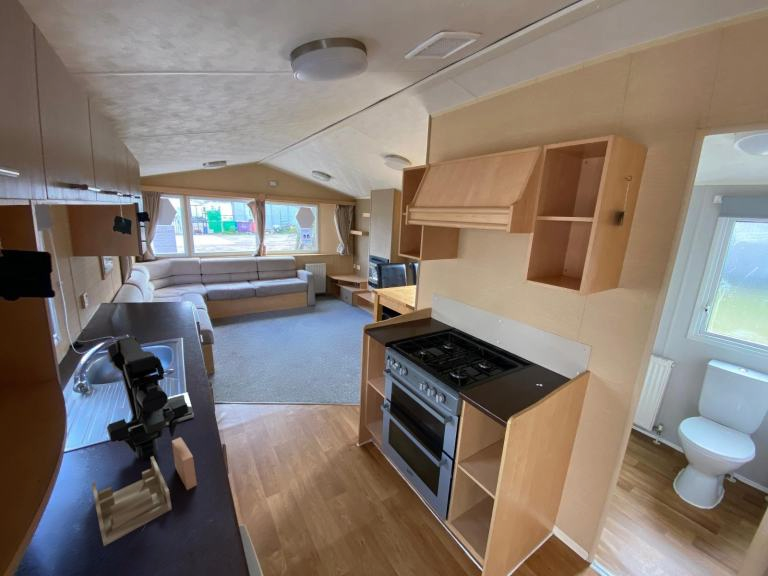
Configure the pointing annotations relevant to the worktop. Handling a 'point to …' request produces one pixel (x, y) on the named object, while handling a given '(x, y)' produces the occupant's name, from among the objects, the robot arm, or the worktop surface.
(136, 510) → the offcut upper
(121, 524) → the offcut lower
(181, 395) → the picture frame
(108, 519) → the rack
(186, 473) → the orange tan rectangular slab
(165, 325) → the worktop surface
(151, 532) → the worktop surface
